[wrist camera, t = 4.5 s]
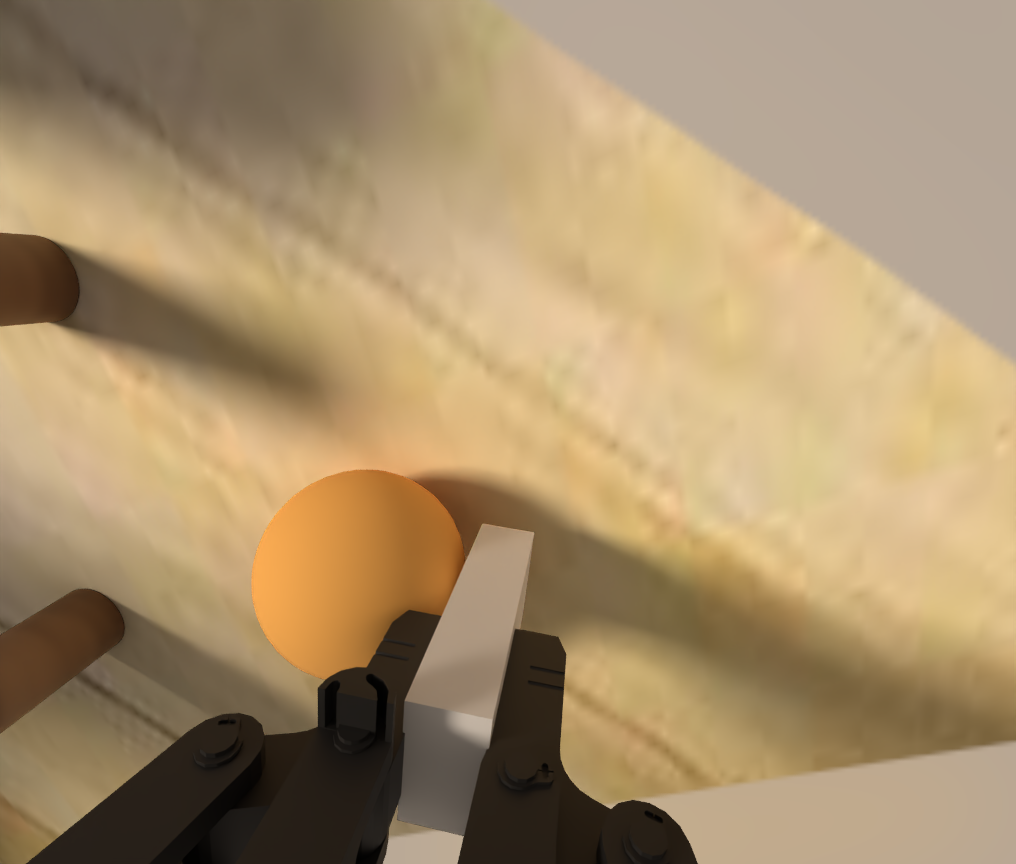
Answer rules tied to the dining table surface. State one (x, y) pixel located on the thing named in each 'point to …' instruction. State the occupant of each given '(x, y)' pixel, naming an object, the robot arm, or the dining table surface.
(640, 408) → the dining table surface
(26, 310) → the post
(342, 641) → the ball
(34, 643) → the post
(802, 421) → the dining table surface
